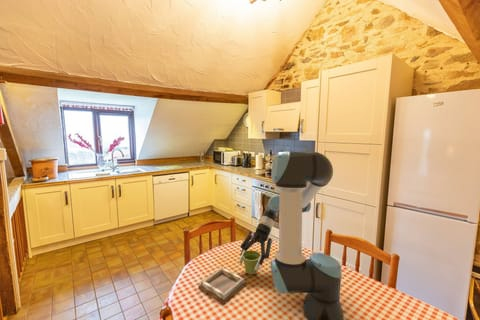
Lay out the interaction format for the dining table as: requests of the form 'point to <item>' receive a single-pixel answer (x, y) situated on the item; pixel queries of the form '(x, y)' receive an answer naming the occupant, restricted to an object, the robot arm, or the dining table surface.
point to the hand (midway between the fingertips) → (247, 266)
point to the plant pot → (250, 261)
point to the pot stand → (222, 284)
